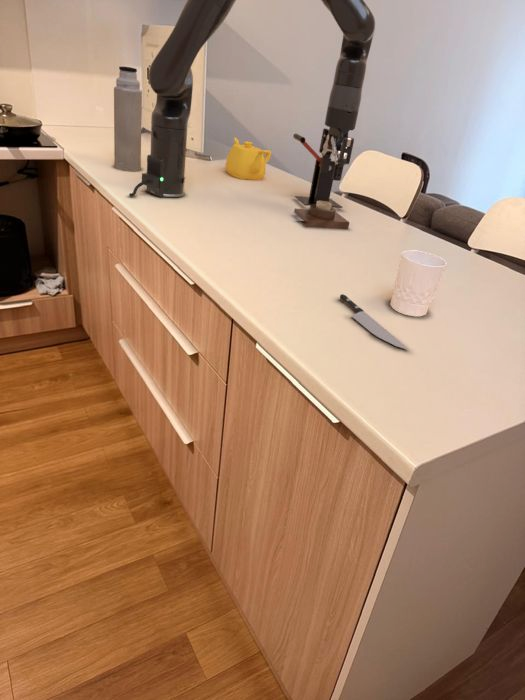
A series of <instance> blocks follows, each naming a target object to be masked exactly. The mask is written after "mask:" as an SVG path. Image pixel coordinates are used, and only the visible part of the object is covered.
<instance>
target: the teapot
mask: <svg viewBox="0 0 525 700" xmlns="http://www.w3.org/2000/svg"><path fill="white" fill-rule="evenodd" d="M233 141H234V144H232V146H231V149H230V150H229V152H228V154H227V158H226V161H225V170H226V172H227V174H228V175H230V176H232V177H234V178H236V179H241V180H251V181H252V180H254V181H257V180H259V181H260V180H262V179H263V178H264V177H265V175H266V164H267V163H268V162H269V160H270V159H271V157H272V151H271V150H269V149H262V148H259V147H257V146H254V145H253V144H254V143H253V142H251V141H244V142H243V144H240V140H239V139H238V137H234V138H233ZM264 154H265V155H264Z"/></svg>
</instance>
